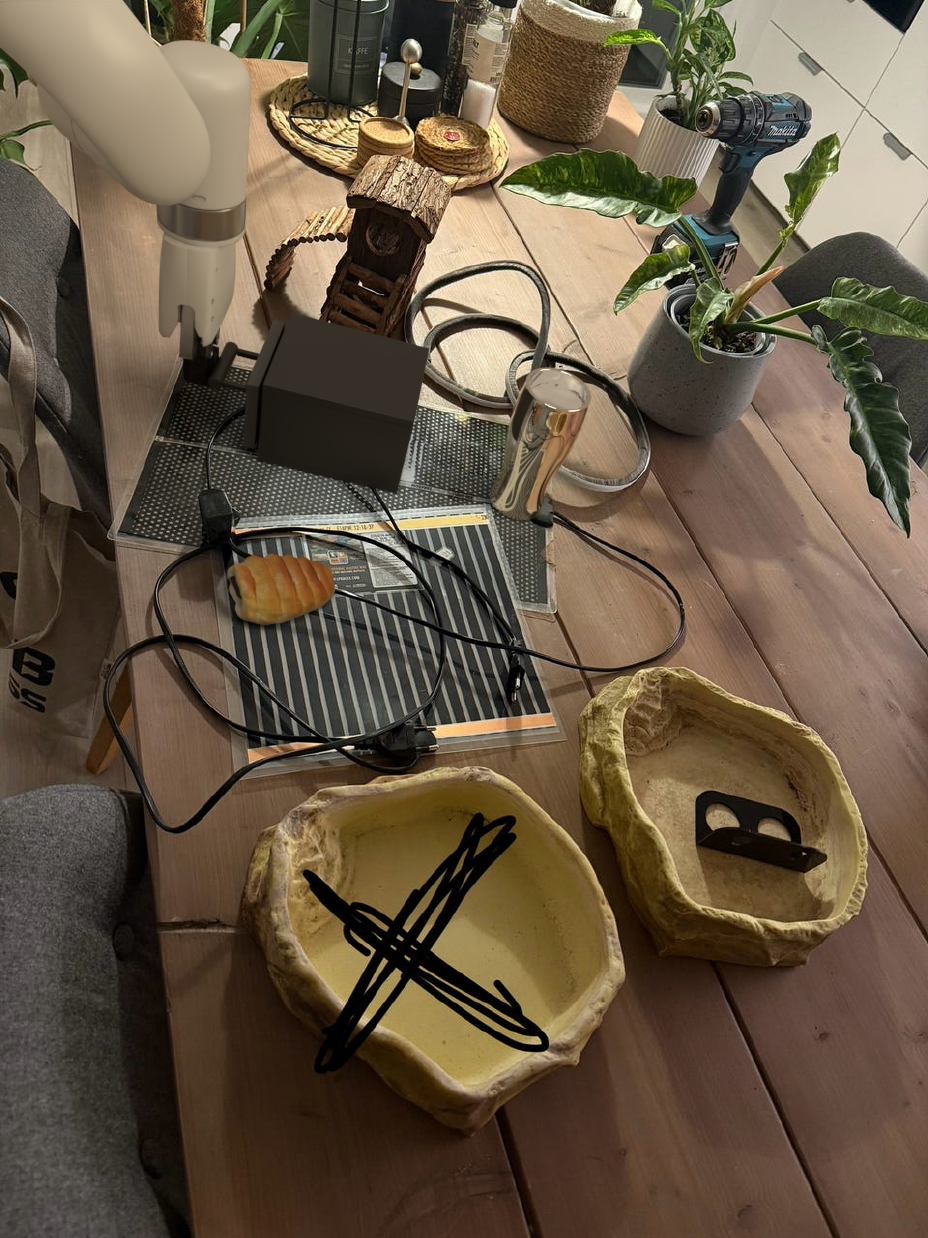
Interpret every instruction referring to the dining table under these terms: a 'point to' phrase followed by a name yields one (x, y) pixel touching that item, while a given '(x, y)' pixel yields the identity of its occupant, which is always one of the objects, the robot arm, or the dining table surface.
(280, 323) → the drawer
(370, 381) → the cabinet
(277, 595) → the pastry
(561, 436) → the beer glass
